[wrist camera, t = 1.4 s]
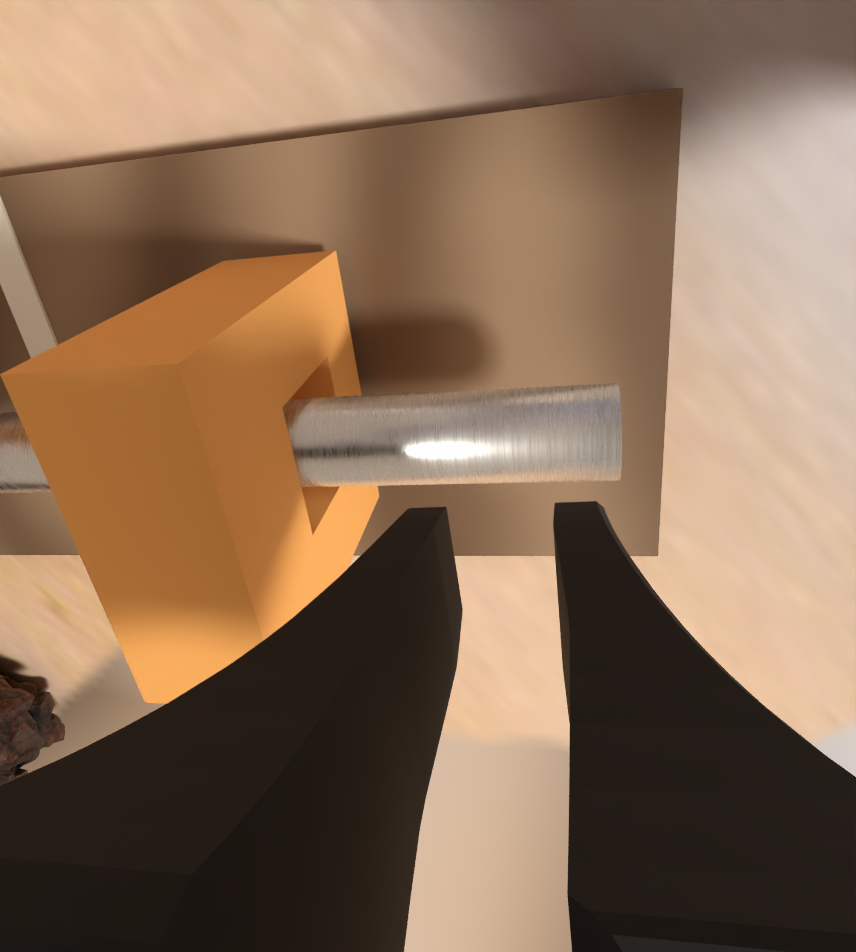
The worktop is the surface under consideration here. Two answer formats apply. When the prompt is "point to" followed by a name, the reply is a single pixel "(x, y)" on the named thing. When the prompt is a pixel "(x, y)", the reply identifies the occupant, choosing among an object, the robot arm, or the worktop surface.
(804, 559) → the worktop surface
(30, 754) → the dark brown lumpy piece
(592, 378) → the rod stand
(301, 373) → the collar
